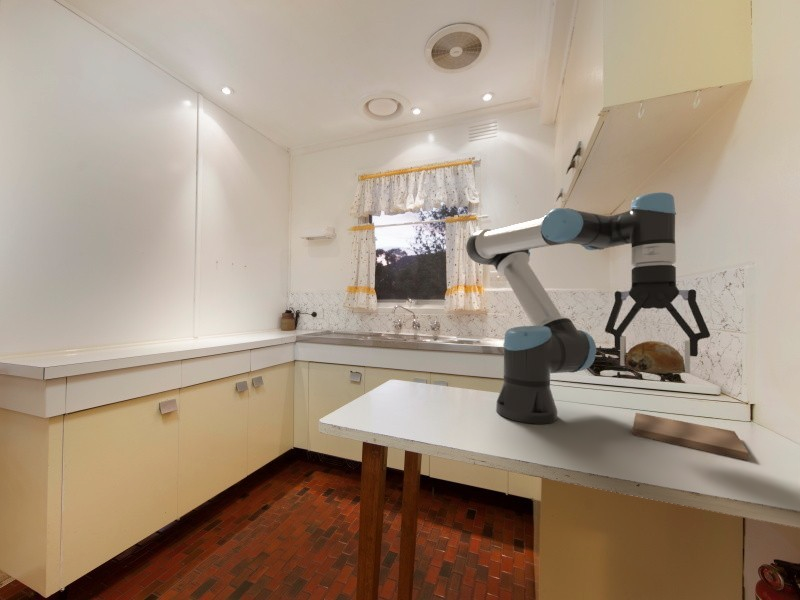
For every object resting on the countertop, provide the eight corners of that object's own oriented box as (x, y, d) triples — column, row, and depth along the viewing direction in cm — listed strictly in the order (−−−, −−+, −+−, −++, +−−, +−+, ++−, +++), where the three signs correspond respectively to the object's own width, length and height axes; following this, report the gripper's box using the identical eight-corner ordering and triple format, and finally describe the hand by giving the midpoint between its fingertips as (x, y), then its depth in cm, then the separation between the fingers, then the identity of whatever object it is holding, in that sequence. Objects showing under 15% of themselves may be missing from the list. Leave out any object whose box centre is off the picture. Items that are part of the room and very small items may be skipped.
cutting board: (632, 434, 72) (632, 427, 72) (635, 418, 83) (635, 412, 83) (748, 460, 61) (748, 452, 61) (734, 437, 71) (734, 431, 71)
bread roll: (686, 393, 62) (706, 357, 61) (632, 368, 64) (651, 333, 64) (658, 382, 71) (676, 351, 71) (612, 360, 74) (628, 330, 73)
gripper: (589, 268, 73) (589, 363, 73) (729, 258, 58) (731, 379, 57) (596, 271, 79) (596, 360, 78) (726, 263, 64) (727, 373, 63)
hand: (653, 368), depth 68 cm, fingers closed on bread roll, 10 cm apart
